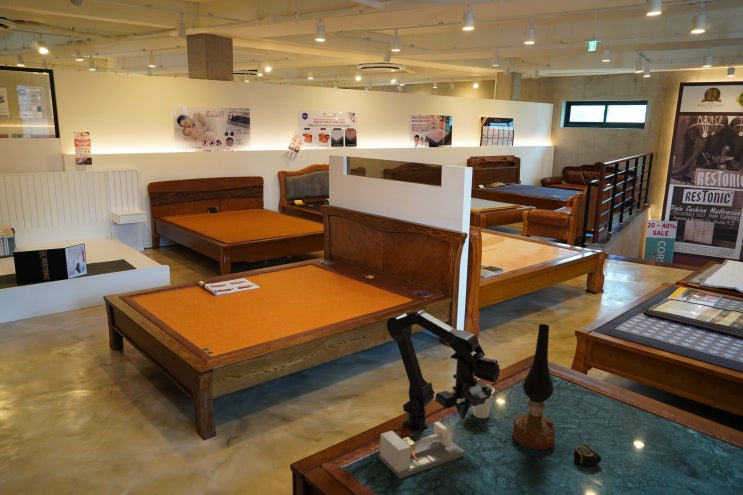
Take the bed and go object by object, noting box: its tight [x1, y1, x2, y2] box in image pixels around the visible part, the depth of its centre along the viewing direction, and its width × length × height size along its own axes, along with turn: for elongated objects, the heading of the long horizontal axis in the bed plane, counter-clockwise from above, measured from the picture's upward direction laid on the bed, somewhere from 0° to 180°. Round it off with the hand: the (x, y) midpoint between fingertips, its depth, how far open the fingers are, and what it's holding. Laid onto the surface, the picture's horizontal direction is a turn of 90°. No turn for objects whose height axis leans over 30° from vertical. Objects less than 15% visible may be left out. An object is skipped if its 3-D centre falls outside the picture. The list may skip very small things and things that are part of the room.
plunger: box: [420, 421, 453, 448], centre depth 171 cm, size 7×9×5 cm
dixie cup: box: [471, 383, 496, 419], centre depth 195 cm, size 8×8×10 cm
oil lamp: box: [511, 323, 556, 450], centre depth 179 cm, size 14×15×40 cm
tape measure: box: [573, 444, 602, 467], centre depth 169 cm, size 7×7×4 cm
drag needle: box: [401, 436, 419, 462], centre depth 165 cm, size 7×2×4 cm, turn 31°
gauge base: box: [377, 430, 465, 479], centre depth 169 cm, size 12×24×8 cm, turn 121°
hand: (462, 418), depth 177 cm, fingers closed
